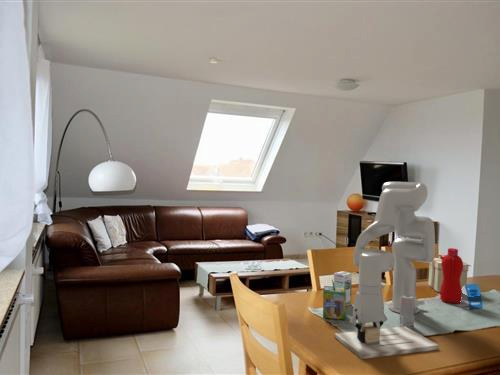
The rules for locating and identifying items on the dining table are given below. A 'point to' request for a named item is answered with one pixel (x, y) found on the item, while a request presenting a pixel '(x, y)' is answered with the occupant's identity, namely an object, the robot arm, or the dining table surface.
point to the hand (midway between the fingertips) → (368, 340)
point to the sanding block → (371, 334)
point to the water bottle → (451, 277)
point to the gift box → (437, 274)
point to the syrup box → (344, 283)
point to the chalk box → (334, 302)
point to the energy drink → (407, 311)
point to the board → (387, 343)
